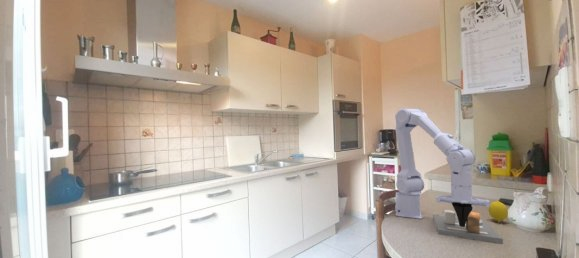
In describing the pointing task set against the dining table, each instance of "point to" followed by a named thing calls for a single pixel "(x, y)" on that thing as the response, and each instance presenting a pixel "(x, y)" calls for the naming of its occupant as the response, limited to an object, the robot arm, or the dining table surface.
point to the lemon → (498, 211)
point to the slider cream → (449, 217)
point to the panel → (457, 231)
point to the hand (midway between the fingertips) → (461, 225)
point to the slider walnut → (472, 225)
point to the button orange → (474, 215)
